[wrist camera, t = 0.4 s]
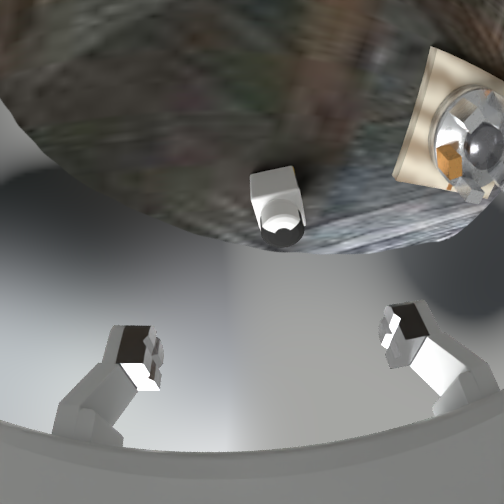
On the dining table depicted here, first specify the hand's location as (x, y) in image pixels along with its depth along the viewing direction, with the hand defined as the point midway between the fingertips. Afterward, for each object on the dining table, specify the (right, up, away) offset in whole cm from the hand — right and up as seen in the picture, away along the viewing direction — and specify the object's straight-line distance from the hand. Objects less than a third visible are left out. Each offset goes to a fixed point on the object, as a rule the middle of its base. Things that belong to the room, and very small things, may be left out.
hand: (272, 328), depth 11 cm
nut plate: (+37, +24, +32) cm, 54 cm away
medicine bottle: (+3, +13, +41) cm, 44 cm away
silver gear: (+37, +22, +31) cm, 53 cm away
